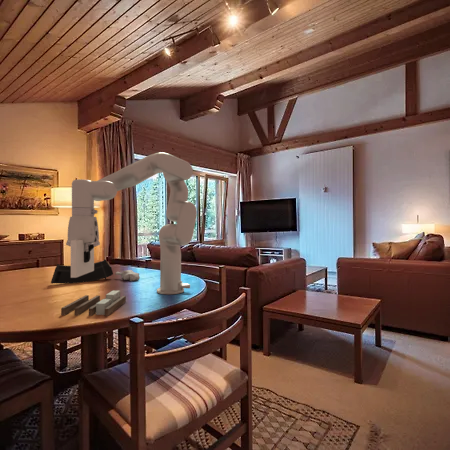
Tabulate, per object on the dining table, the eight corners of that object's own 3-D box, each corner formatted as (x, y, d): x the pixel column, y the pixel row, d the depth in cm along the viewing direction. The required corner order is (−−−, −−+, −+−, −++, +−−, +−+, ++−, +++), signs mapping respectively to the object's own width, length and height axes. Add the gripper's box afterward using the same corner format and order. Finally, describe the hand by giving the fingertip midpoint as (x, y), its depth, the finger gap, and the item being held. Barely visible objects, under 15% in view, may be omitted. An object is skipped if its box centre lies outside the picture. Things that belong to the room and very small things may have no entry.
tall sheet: (94, 270, 120) (94, 238, 119) (76, 277, 106) (76, 240, 105) (89, 270, 120) (89, 238, 119) (70, 277, 106) (70, 240, 105)
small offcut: (110, 309, 111) (111, 299, 111) (104, 315, 105) (104, 303, 105) (102, 309, 111) (102, 299, 111) (96, 314, 105) (96, 303, 105)
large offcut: (120, 303, 120) (120, 290, 120) (113, 308, 113) (113, 294, 113) (112, 302, 120) (112, 290, 120) (105, 307, 113) (105, 294, 113)
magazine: (46, 268, 147) (105, 248, 166) (45, 267, 150) (103, 247, 169) (57, 300, 151) (114, 276, 170) (56, 298, 153) (112, 275, 172)
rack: (125, 302, 121) (125, 295, 121) (108, 316, 103) (108, 308, 103) (85, 301, 122) (85, 295, 121) (61, 315, 103) (61, 308, 103)
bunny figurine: (129, 275, 160) (113, 268, 169) (128, 284, 160) (112, 277, 169) (144, 272, 167) (128, 267, 176) (143, 281, 168) (127, 275, 177)
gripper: (108, 213, 116) (108, 260, 116) (67, 213, 116) (67, 260, 116) (99, 212, 108) (100, 263, 109) (56, 212, 108) (56, 263, 109)
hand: (83, 261), depth 112 cm, fingers closed on tall sheet, 2 cm apart
